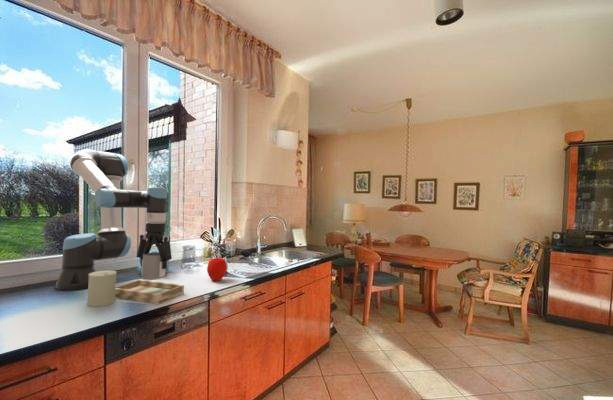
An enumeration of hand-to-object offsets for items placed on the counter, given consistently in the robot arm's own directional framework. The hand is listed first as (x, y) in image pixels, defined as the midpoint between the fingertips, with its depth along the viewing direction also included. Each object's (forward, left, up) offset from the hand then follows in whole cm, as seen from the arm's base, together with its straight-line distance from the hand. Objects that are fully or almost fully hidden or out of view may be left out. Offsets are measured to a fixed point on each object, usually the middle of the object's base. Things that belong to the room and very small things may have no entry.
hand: (153, 275), depth 124 cm
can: (-11, -14, -9) cm, 20 cm away
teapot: (-23, +28, -9) cm, 37 cm away
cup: (0, 0, -1) cm, 1 cm away
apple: (+12, +31, -9) cm, 34 cm away
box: (-2, 0, -9) cm, 9 cm away
